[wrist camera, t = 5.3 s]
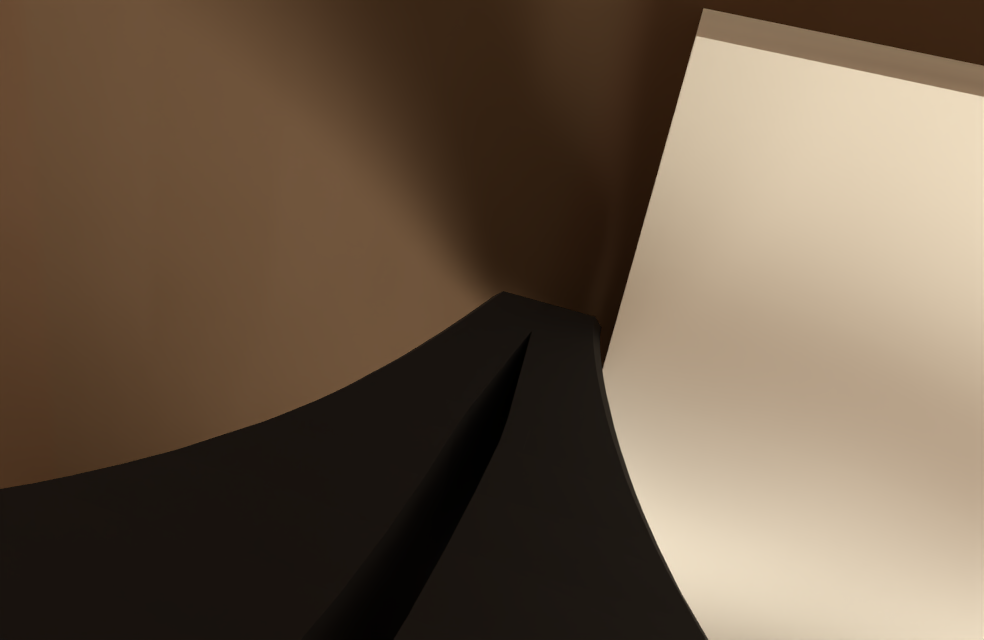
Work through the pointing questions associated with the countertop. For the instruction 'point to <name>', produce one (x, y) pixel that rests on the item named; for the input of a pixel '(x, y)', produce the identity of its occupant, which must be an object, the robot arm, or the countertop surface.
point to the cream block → (812, 339)
